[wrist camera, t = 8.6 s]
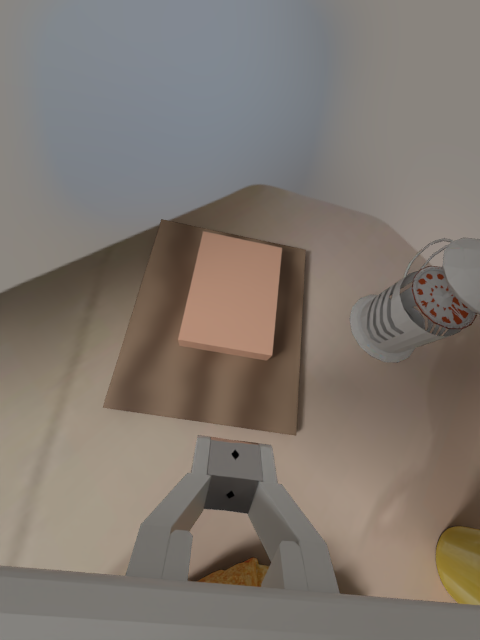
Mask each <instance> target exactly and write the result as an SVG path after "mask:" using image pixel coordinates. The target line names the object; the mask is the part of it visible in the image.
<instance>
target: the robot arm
mask: <svg viewBox="0 0 480 640" xmlns="http://www.w3.org/2000/svg"><path fill="white" fill-rule="evenodd" d="M203 509H213V510H225V511H233V512H240V513H247V514H248V516H249V518H250V520H251V522H252V524H253V526H254V528H255V530H256V532H257V534H258V536H259V538H260V540H261V543H262V545H263V547H264V549H265V551H266V553H267V555H268V557H269V559H270V561H271V564H270V566H269V569H268V571H267V573H266V575H265V577H264V579H263V581H262V584H261V587H254V586H242V585H230V584H218V583H206V582H194V581H187V580H188V572H189V563H190V555H191V546H192V538H193V536H192V534H191V533H190V532H189V531H190V529H191V528H192V526H193V525H194V523H195V522H196V520H197V519H198V517H199V516H200V514H201V513H202V511H203ZM0 640H480V605H471V604H459V603H447V602H435V601H422V600H410V599H398V598H386V597H374V596H362V595H350V594H340V592H339V589H338V585H337V581H336V577H335V574H334V570H333V566H332V563H331V559H330V555H329V551H328V548H327V544H326V543H325V541H324V540H323V539H322V537H321V536H320V535H319V533H318V532H317V531H316V529H315V528H314V527H313V525H312V524H311V523H310V521H309V520H308V519H307V517H306V516H305V515H304V513H303V512H302V511H301V509H300V508H299V507H298V505H297V504H296V503H295V501H294V500H293V499H292V497H291V496H290V495H289V493H288V492H287V491H286V489H285V488H284V487H283V485H282V484H278V481H277V475H276V468H275V462H274V456H273V449H272V446H271V445H267V444H260V443H259V444H258V443H253V442H245V441H237V440H228V439H222V438H216V437H208V436H202V435H198V437H197V442H196V447H195V452H194V457H193V463H192V468H191V473H187V474H186V475H185V476H184V477H183V479H182V480H181V481H180V482H179V483H178V484H177V485H176V486H175V487H174V488H173V490H172V491H171V492H170V493H169V494H168V495H167V496H166V497H165V498H164V499H163V501H162V502H161V503H160V504H159V505H158V506H157V507H156V508H155V509H154V511H153V512H152V513H151V514H150V515H149V516H148V517H147V518H146V519H145V520H144V522H143V523H142V524H141V526H140V529H139V532H138V536H137V539H136V542H135V546H134V549H133V552H132V556H131V559H130V562H129V566H128V569H127V572H126V576H121V575H109V574H97V573H85V572H73V571H61V570H49V569H37V568H25V567H12V566H0Z"/></svg>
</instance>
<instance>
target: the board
mask: <svg viewBox="0 0 480 640" xmlns="http://www.w3.org/2000/svg"><path fill="white" fill-rule="evenodd" d="M203 231H205V232H209V233H214V234H219V235H224V236H228V237H233V238H238V239H242V240H247V241H252V242H257V243H261V244H266V245H271V246H276V247H280V248H282V254H281V265H280V276H279V287H278V298H277V309H276V320H275V331H274V342H273V353H272V356H271V357H270V358H269V359H268V360H267V361H266V360H260V359H254V358H248V357H242V356H236V355H230V354H225V353H219V352H213V351H207V350H201V349H195V348H189V347H183V346H179V342H178V337H179V333H180V329H181V325H182V320H183V316H184V312H185V307H186V303H187V299H188V294H189V290H190V286H191V282H192V277H193V273H194V269H195V264H196V260H197V256H198V251H199V247H200V243H201V239H202V234H203ZM305 252H306V250H304V249H299V248H294V247H290V246H285V245H280V244H276V243H271V242H266V241H261V240H257V239H252V238H247V237H243V236H238V235H233V234H228V233H224V232H219V231H214V230H210V229H205V228H200V227H195V226H191V225H186V224H181V223H177V222H172V221H167V220H161V222H160V226H159V229H158V232H157V235H156V238H155V242H154V245H153V248H152V251H151V254H150V258H149V261H148V264H147V267H146V270H145V274H144V277H143V280H142V283H141V286H140V290H139V293H138V296H137V299H136V302H135V306H134V309H133V312H132V315H131V318H130V322H129V325H128V328H127V331H126V334H125V338H124V341H123V344H122V347H121V350H120V354H119V357H118V360H117V363H116V366H115V370H114V373H113V376H112V379H111V383H110V386H109V389H108V392H107V395H106V399H105V402H104V405H103V408H110V409H116V410H123V411H130V412H137V413H144V414H151V415H158V416H165V417H172V418H178V419H185V420H192V421H199V422H206V423H213V424H220V425H227V426H234V427H241V428H247V429H254V430H261V431H268V432H275V433H282V434H289V435H296V429H297V409H298V390H299V370H300V350H301V331H302V311H303V292H304V272H305Z"/></svg>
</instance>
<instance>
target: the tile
mask: <svg viewBox="0 0 480 640" xmlns="http://www.w3.org/2000/svg"><path fill="white" fill-rule="evenodd" d="M281 254H282V248H280V247H276V246H271V245H266V244H261V243H257V242H252V241H247V240H242V239H238V238H233V237H228V236H224V235H219V234H214V233H209V232H205V231H203V234H202V239H201V243H200V247H199V251H198V256H197V260H196V264H195V269H194V273H193V277H192V282H191V286H190V290H189V294H188V299H187V303H186V307H185V312H184V316H183V320H182V325H181V329H180V333H179V337H178V342H179V346H183V347H189V348H195V349H201V350H207V351H213V352H219V353H225V354H230V355H236V356H242V357H248V358H254V359H260V360H266V361H267V360H268V359H269V358H270V357H271V356H272V353H273V342H274V331H275V320H276V309H277V298H278V287H279V276H280V265H281Z"/></svg>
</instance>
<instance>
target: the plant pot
mask: <svg viewBox="0 0 480 640" xmlns="http://www.w3.org/2000/svg"><path fill="white" fill-rule="evenodd" d="M436 565H437V569H438V573H439V576H440V579H441V581H442V583H443V585H444V587H445V588H446V590H447V591H448V593H449V594H450V595H451V596H452V597H453V598H454V599H455V600H456V601H457V602H458V603H459V604H471V605H480V530H479V529H474V528H468V527H462V526H456V527H451V528H448V529H447V530H446V531H445V532H444V533H443V534H442V535H441V537H440V539H439V541H438V544H437V548H436Z"/></svg>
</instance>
